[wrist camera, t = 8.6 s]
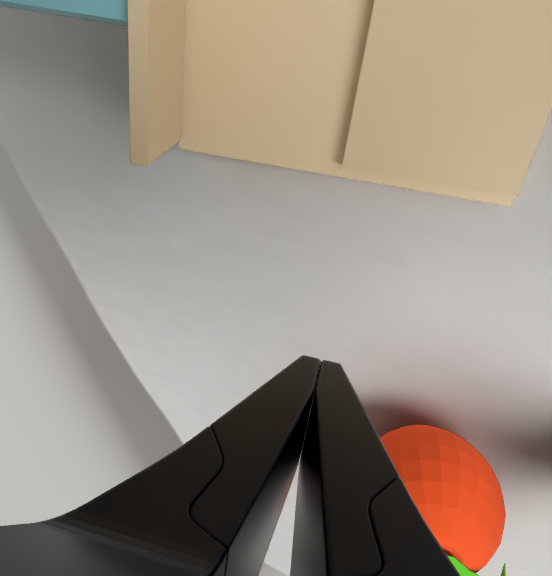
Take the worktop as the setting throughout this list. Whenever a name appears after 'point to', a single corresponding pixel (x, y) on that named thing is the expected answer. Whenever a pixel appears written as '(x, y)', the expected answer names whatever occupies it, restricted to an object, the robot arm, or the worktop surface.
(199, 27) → the carton
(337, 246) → the worktop surface
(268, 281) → the worktop surface
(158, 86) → the flap
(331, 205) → the worktop surface
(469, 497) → the clementine
